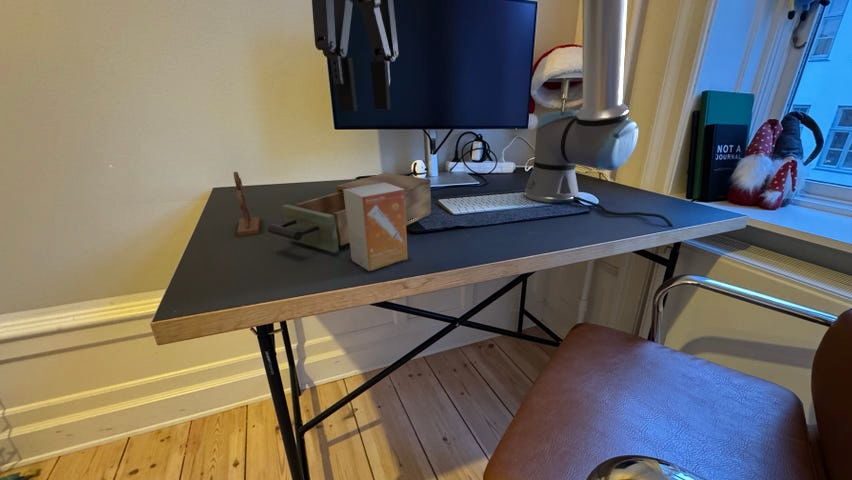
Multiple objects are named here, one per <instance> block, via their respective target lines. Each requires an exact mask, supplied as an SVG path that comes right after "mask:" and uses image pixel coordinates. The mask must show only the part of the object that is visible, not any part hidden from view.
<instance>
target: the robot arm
mask: <svg viewBox="0 0 852 480" xmlns="http://www.w3.org/2000/svg"><path fill="white" fill-rule="evenodd" d="M354 3H355V6H356V7H357V8H358V9H359V10H360V13H361V16H362V20H363V24H364V27H365V30H366V31H365V32H366V34H367V38H368V43H369V45H370V49H371V52H372V57H373V59H374V61H370V62H369V63H370V74H371V75H370V76H371V85H372V97H373V98H372V99H373V109H375V110H391V93H390V86H391V72H390V71H391V69H390V62H395V61H396V58H398V57H399V44H398V34H397V25H396V15H395V6H394V0H311V6H312V7H311V8H312V10H311V11H312V22H313V36H314V46H315V49H317V50H318V51H322V54H323V56H324V57H325V58H329V60H330V65H331V66H330V67H331V75H332V80H333V83H334V85H336V93H337V100H338V109H339V111H341V112H342V111H344V112H358V103H357V102H358V101H357V93H356V82H355V72H354V63H353V58H352V57H346V56H347V54H348V47H349V39H350V31H351V21H352V14H353V5H354ZM628 3H629V2H628V0H582V106H581V108H580V109H574V110H562V111H561V110H559V111H549V112H543V113H541V115H540V116H539V118H538V121H537V128H536V130H535V131H536V133H535V144H534V145H535V146H534V155H533V157H534V158H533V167H532V171H531V173H530V175H529V178H528V180H527V182H526V185H525V188H524V197H525V198H527V199H529V200H532V201H535V202H540V203H546V204H547V203H548V204H567V203H573V202H576V201H580V202H583V203H586V204H588V205H592V206H593V207H597V208H599V209H601V210H602V211H603V212H605V213H606V214H609V215H612V216H642V217H652V218H658V219H661V220H663V221H665V223H666V224H667V225H668V226H669V227H674V225H673V223H672V222H671V221H670V219H668V217H666V216H664V215H662V214H659V213H650V212H649V213H648V212H640V211H628V212H627V211H626V212H619V211H618V212H616V211H611V210H608V209H607V208H606V207H605V206H603V205H601V204H599V203H596V202H593V201H590V200H587V199H584V198H582V197H579V196H578V195H579V188H578V181H577V175H576V166H582V167H587V168H592V169H596V170H598V171H602V170H604V171H615V170H618V169H619V168H621V167H622V166H624V165H625V164H626V163H627V161H628V160H629V158H630V157H631V155H632V154H633V152H634V150H635V148H636V145H637V143H638V142H637V141H638V139H639V127H638V125H637V123H636V122H635V121H634V120H632V119H629V107H628V105H626V104H625V103H624V102H623V90H624V71H625V55H626V53H625V52H626V36H627V18H628ZM525 193H526V194H525Z"/></svg>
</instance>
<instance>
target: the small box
mask: <svg viewBox="0 0 852 480" xmlns="http://www.w3.org/2000/svg"><path fill="white" fill-rule="evenodd" d="M343 192H344V200H345V208H346V217H347V225H348V234H349V249H350V256H351V261H352V262H354V263H355V264H357V265H358V266H360V267H361V268H363V269H365V270H366V271H368V272H372V271H374V270H378V269H380V268H384V267H387V266H390V265H392V264H396V263H399V262H403V261H406V260H408V243H407V242H408V240H407V237H408V236H407V226H406V215H405V192H404V189H402V188H399V187H397V186H394V185H391V184H388V183H385V182H384V183H379V184H374V185H365V186H360V187H355V188H350V189H343Z"/></svg>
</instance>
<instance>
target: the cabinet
mask: <svg viewBox="0 0 852 480" xmlns="http://www.w3.org/2000/svg"><path fill="white" fill-rule="evenodd" d="M384 182H385V183H388V184H391V185H394V186H397V187H399V188H402V189H404V192H405V215H406V227H407V226H409V225H411V224H413V223H415V222H418V221H419V220H421V219H423V218H425V217H428V216H430V215H432V196H431V192H432V191H431V190H432V188H431V179H430V178H424V177H418V176H410V175H403V174H397V173H390V172H383V173H379V174H375V175H372V176H368V177H363V178H359V179H356V180H352V181H347V182H344V183H341V184H337V185H335V188H336V190H335V191H336V193H337V192H341V191H343V189H350V188H355V187H360V186H365V185H374V184H379V183H384ZM412 218H413V219H412ZM410 219H411V220H410ZM408 220H409V221H408Z"/></svg>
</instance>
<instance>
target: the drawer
mask: <svg viewBox="0 0 852 480" xmlns="http://www.w3.org/2000/svg"><path fill="white" fill-rule="evenodd" d="M281 209H282V214H283V219H284V220H283V221H284V222H283V223H281V224H280V223H279V224H274V223H270V224H268V226H267V232H268V233H269V234H274V235H276V236H280V237H284V238H287V239H288V240H290V241H292V242H296V243H299V244H302V245H307V246H310V247H313V248H317V249H320V250H323V251H326V252H330V253H333V254H334V253H336V252H339V250H340V249H339V246H340V247H342V246H345V245H347V244H350V242H349V234H348V225H347V217H346V208H345V200H344V192H343V191H341V192H337V191H336V192H334V193H331V194H327V195H323V196H320V197H317V198H313V199H309V200H306V201H302V202H299V203H296V204H295V205H291V204H283V205H281Z"/></svg>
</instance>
